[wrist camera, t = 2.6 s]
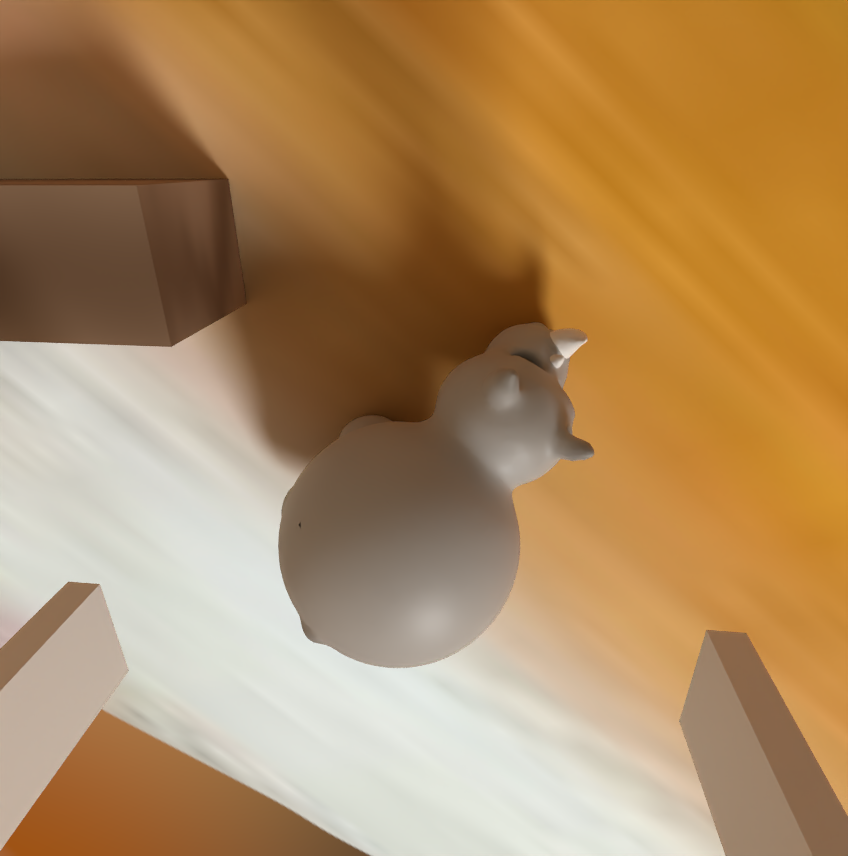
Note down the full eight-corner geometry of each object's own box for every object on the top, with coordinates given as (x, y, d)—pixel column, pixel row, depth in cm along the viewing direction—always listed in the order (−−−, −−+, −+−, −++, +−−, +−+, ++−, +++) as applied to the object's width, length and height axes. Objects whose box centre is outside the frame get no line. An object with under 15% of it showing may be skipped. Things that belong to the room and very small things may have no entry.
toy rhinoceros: (589, 395, 22) (742, 437, 14) (389, 611, 22) (423, 778, 14) (464, 267, 20) (554, 227, 12) (249, 503, 21) (194, 622, 12)
